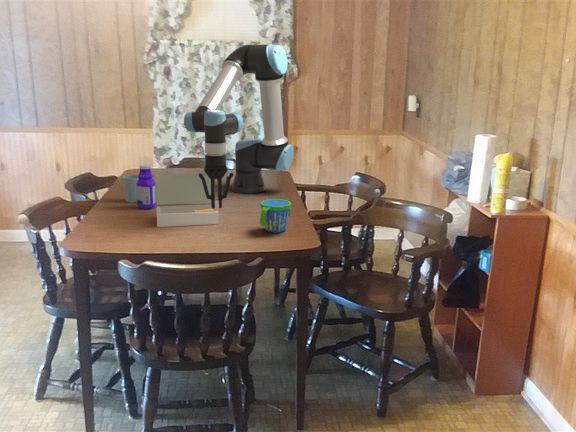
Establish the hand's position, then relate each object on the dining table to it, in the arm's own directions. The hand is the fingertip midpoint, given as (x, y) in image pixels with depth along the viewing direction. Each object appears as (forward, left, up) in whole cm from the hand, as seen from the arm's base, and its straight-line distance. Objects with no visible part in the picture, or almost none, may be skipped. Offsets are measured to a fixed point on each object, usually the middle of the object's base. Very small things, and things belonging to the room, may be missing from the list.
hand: (216, 216), depth 218 cm
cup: (+32, -35, -2) cm, 47 cm away
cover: (+11, -7, +9) cm, 16 cm away
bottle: (+26, -23, -2) cm, 35 cm away
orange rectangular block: (+5, -1, -2) cm, 5 cm away
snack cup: (-19, +16, -2) cm, 25 cm away
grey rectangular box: (+11, -1, -2) cm, 11 cm away
